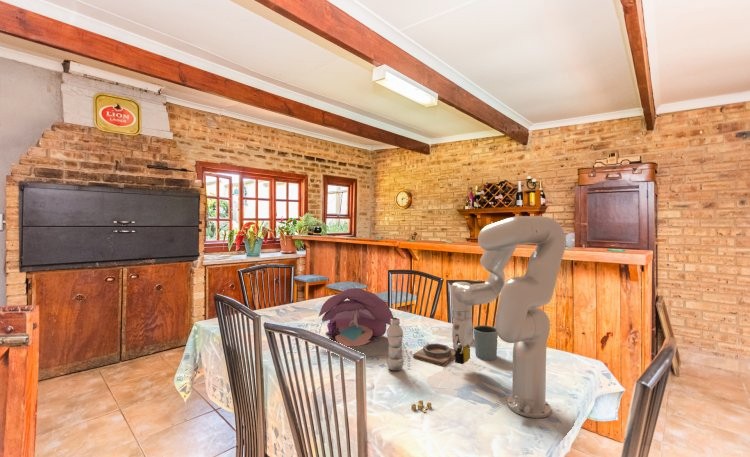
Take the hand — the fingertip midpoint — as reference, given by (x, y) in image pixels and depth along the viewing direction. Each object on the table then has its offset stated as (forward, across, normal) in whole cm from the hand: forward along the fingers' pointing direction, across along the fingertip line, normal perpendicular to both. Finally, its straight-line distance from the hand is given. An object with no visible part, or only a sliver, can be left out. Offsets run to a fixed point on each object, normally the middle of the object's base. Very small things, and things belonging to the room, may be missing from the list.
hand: (462, 360), depth 136 cm
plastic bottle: (+4, -14, +22) cm, 27 cm away
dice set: (+6, -33, 0) cm, 33 cm away
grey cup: (+4, +20, -2) cm, 20 cm away
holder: (+3, +8, +15) cm, 17 cm away
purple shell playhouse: (+2, +2, +57) cm, 57 cm away
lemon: (+2, 0, 0) cm, 2 cm away
